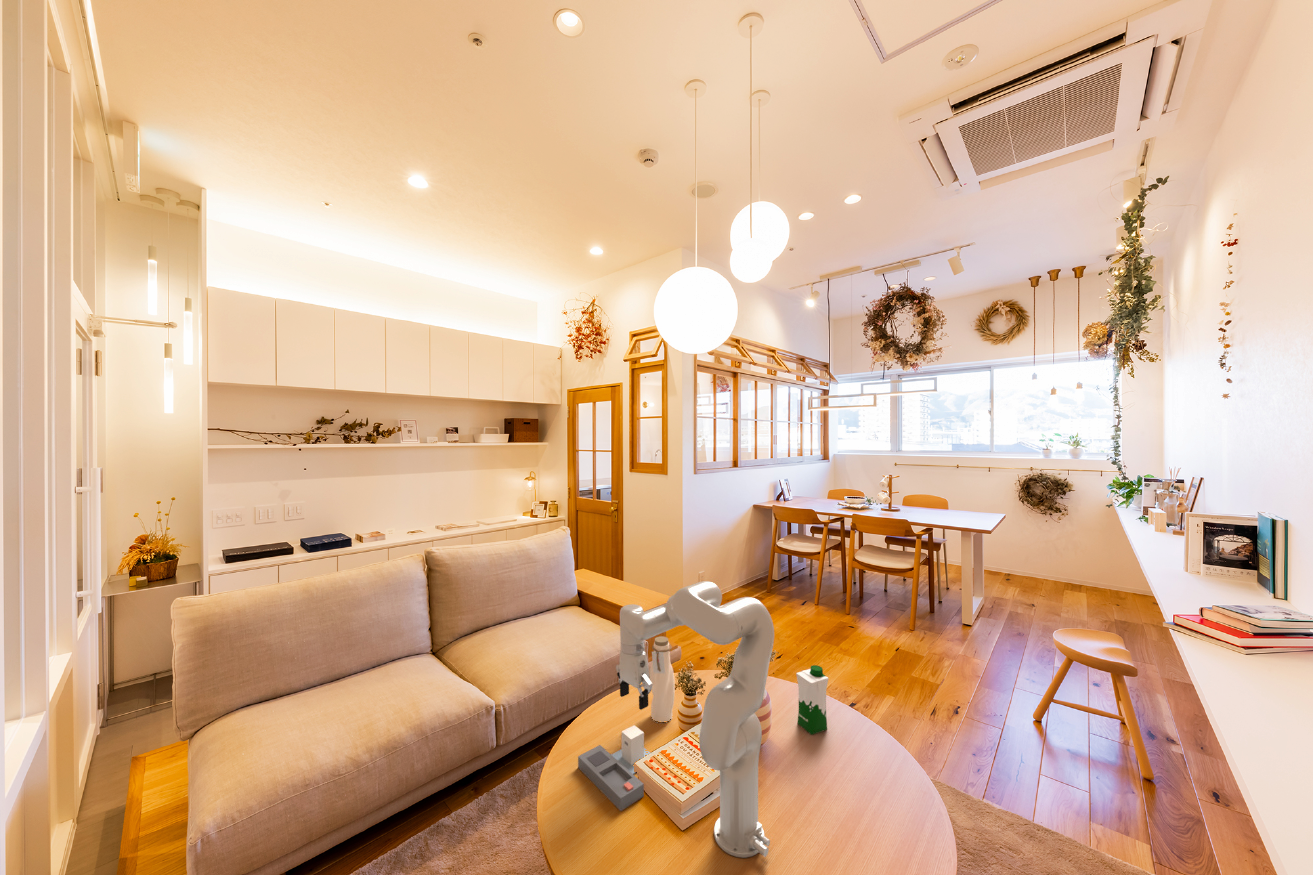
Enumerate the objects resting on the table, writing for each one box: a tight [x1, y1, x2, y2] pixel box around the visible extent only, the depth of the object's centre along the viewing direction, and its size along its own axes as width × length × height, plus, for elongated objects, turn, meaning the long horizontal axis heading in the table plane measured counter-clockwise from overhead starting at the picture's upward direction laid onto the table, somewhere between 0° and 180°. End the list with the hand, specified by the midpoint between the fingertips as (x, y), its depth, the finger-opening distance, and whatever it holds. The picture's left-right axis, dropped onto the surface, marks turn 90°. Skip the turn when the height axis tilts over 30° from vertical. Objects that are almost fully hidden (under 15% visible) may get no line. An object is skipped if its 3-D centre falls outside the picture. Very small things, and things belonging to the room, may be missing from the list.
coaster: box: [611, 747, 651, 776], centre depth 147 cm, size 11×11×1 cm
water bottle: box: [649, 635, 676, 722], centre depth 168 cm, size 10×9×28 cm
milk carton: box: [795, 664, 829, 736], centre depth 163 cm, size 9×9×20 cm
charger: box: [621, 724, 645, 765], centre depth 147 cm, size 5×5×8 cm
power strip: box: [577, 744, 645, 812], centre depth 138 cm, size 22×8×4 cm, turn 41°
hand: (634, 701), depth 147 cm, fingers open, 9 cm apart
